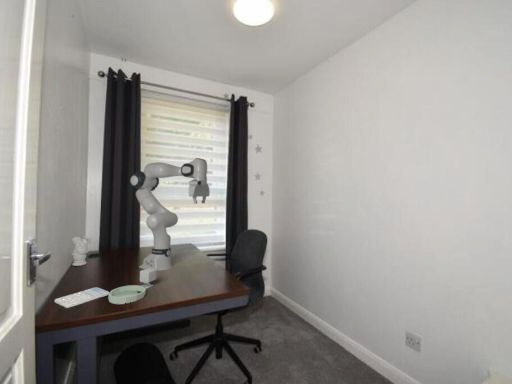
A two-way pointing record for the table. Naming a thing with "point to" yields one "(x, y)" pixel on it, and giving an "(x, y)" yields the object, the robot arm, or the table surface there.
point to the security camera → (147, 276)
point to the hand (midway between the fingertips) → (199, 203)
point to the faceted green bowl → (126, 294)
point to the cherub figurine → (80, 250)
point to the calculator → (81, 297)
